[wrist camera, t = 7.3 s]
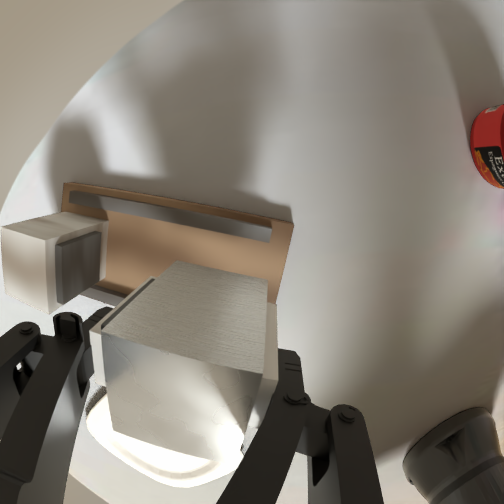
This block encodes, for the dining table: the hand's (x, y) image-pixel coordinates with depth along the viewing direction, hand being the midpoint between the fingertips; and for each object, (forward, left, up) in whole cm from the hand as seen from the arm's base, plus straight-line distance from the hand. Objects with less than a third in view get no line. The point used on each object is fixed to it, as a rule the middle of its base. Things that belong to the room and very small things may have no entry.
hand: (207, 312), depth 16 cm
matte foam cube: (0, 0, 0) cm, 0 cm away
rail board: (0, +6, -8) cm, 10 cm away
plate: (-24, +5, -8) cm, 26 cm away
